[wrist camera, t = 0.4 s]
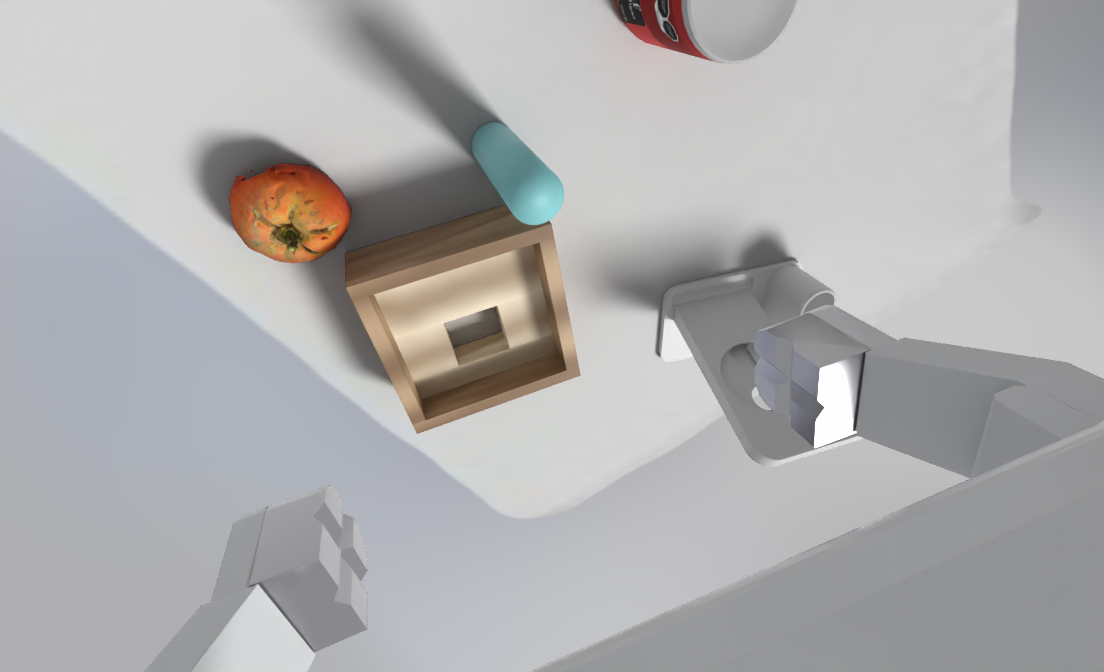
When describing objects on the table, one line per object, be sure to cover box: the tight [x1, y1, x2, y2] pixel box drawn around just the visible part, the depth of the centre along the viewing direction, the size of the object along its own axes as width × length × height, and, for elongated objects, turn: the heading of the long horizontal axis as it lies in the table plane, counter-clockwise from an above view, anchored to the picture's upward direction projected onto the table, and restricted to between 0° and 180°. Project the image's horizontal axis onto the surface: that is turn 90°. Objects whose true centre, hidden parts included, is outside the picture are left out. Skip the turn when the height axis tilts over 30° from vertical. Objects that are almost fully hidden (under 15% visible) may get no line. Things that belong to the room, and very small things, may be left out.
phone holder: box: [658, 260, 863, 467], centre depth 54 cm, size 17×10×18 cm, turn 93°
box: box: [345, 205, 580, 434], centre depth 47 cm, size 16×16×6 cm
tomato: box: [229, 163, 352, 263], centre depth 40 cm, size 8×7×7 cm
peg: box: [471, 122, 564, 225], centre depth 38 cm, size 4×4×12 cm
